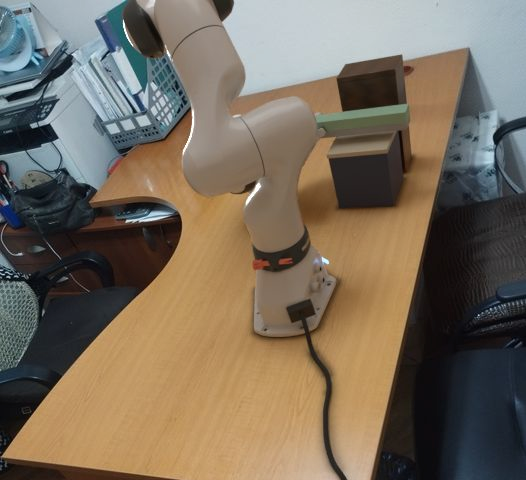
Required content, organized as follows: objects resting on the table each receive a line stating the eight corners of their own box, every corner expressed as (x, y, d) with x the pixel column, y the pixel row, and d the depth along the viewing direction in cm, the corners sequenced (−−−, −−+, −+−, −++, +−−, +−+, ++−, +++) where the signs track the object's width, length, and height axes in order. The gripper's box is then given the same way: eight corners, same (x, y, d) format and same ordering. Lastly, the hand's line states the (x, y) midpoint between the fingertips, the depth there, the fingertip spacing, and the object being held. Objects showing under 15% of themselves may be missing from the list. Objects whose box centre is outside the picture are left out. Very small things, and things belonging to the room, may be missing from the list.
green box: (314, 139, 124) (311, 123, 121) (319, 130, 126) (316, 115, 123) (406, 129, 114) (405, 112, 111) (410, 120, 116) (408, 103, 113)
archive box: (338, 208, 131) (326, 154, 121) (350, 181, 138) (340, 128, 128) (394, 206, 125) (386, 149, 114) (404, 178, 132) (398, 122, 121)
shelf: (354, 176, 140) (336, 78, 122) (361, 160, 144) (345, 64, 126) (405, 172, 133) (395, 68, 115) (411, 156, 138) (402, 54, 120)
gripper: (266, 167, 125) (305, 135, 114) (293, 125, 136) (331, 93, 126) (283, 186, 127) (323, 157, 117) (309, 144, 139) (347, 113, 128)
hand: (327, 123), depth 121 cm, fingers closed on green box, 4 cm apart
